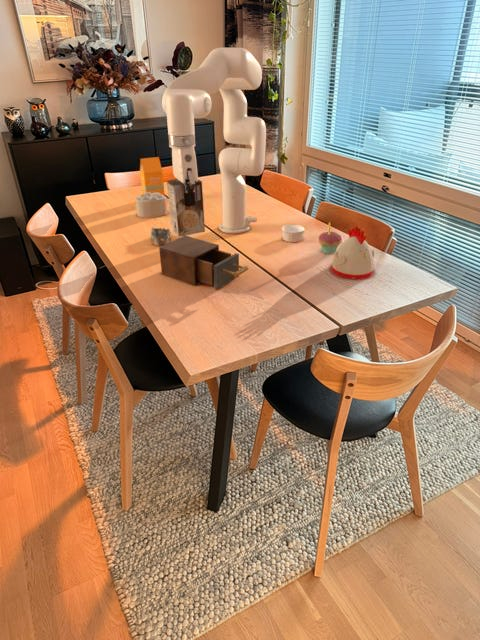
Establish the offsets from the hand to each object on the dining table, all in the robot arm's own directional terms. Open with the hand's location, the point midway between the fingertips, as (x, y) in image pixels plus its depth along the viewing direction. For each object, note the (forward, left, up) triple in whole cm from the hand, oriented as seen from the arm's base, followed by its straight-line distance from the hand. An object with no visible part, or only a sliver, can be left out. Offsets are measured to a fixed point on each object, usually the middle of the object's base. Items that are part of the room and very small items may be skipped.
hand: (186, 201), depth 141 cm
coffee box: (0, 0, -10) cm, 10 cm away
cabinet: (0, 0, -24) cm, 24 cm away
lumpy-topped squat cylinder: (-4, -65, -24) cm, 70 cm away
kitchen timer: (-50, +21, -24) cm, 59 cm away
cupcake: (-52, +4, -24) cm, 58 cm away
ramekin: (-46, -12, -24) cm, 53 cm away
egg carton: (+1, -32, -24) cm, 40 cm away
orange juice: (-10, -83, -24) cm, 87 cm away
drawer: (-6, +10, -23) cm, 26 cm away
